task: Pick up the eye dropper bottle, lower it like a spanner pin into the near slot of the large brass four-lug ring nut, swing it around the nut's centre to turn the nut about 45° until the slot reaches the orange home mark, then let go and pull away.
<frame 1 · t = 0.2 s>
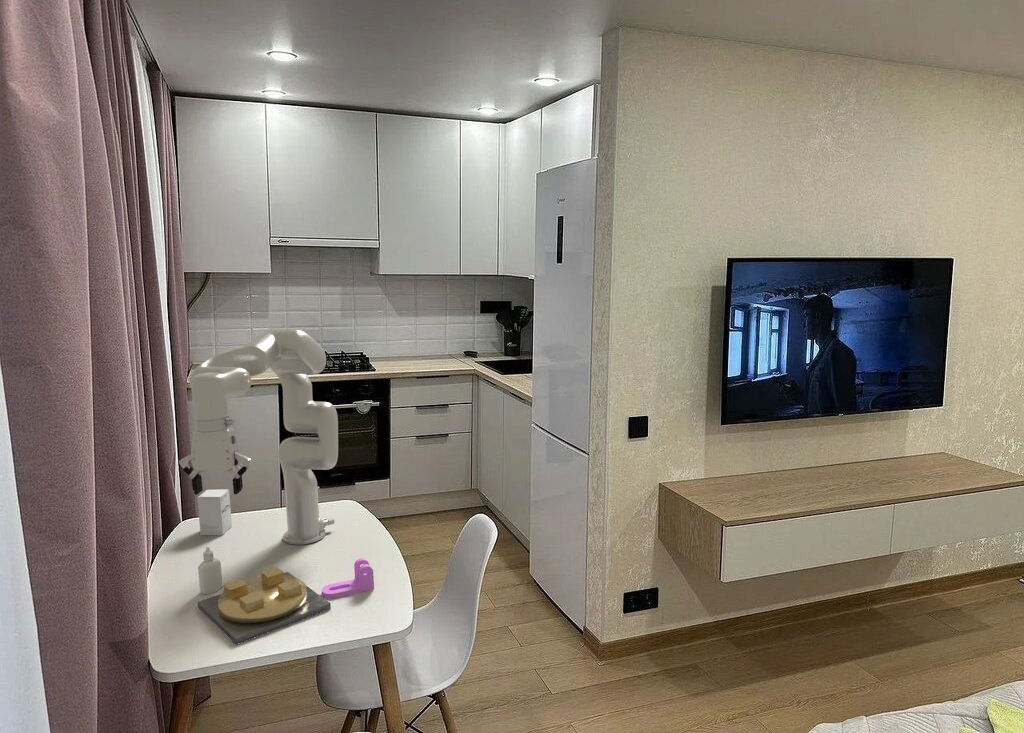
hand: (218, 492, 183), 30 cm above the table, tool pointing down, fingers open, 9 cm apart
eye dropper bottle: (211, 590, 199), on the table
dark grey square slab: (264, 607, 189), on the table
supplement box: (216, 531, 238), on the table
bracket: (347, 591, 197), on the table
ring nut: (262, 593, 188), point 4 cm above the table, hinge at 0.0°
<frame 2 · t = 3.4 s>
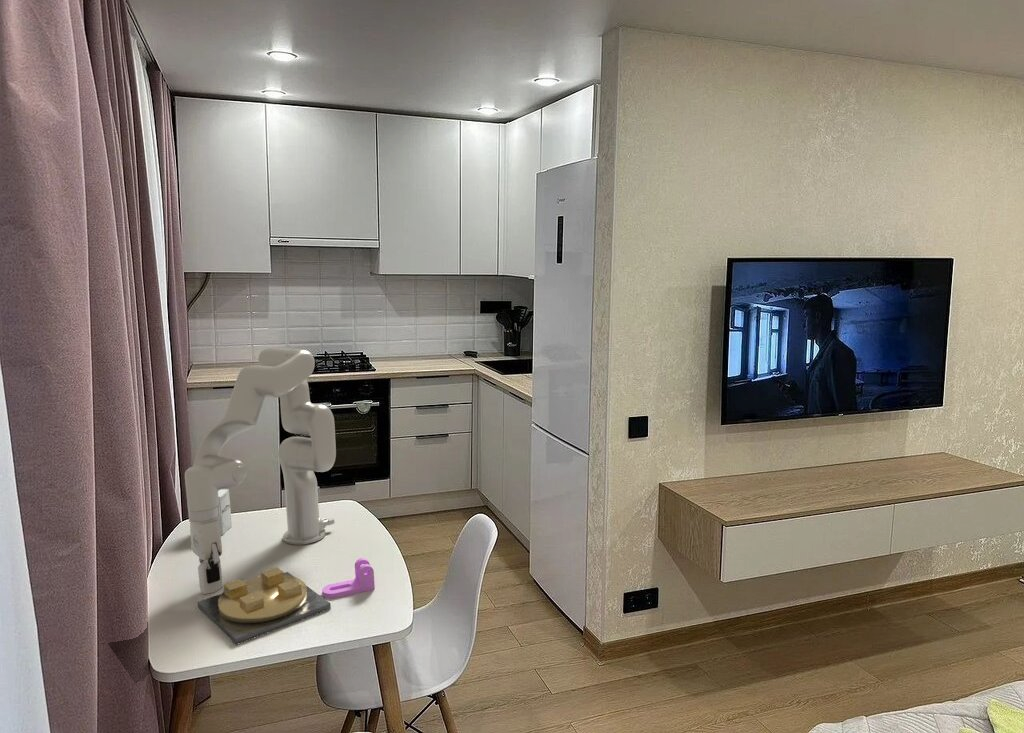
hand: (210, 578, 198), 3 cm above the table, tool pointing down, fingers closed on eye dropper bottle, 3 cm apart
eye dropper bottle: (211, 590, 199), on the table, touching gripper
everything else where it was.
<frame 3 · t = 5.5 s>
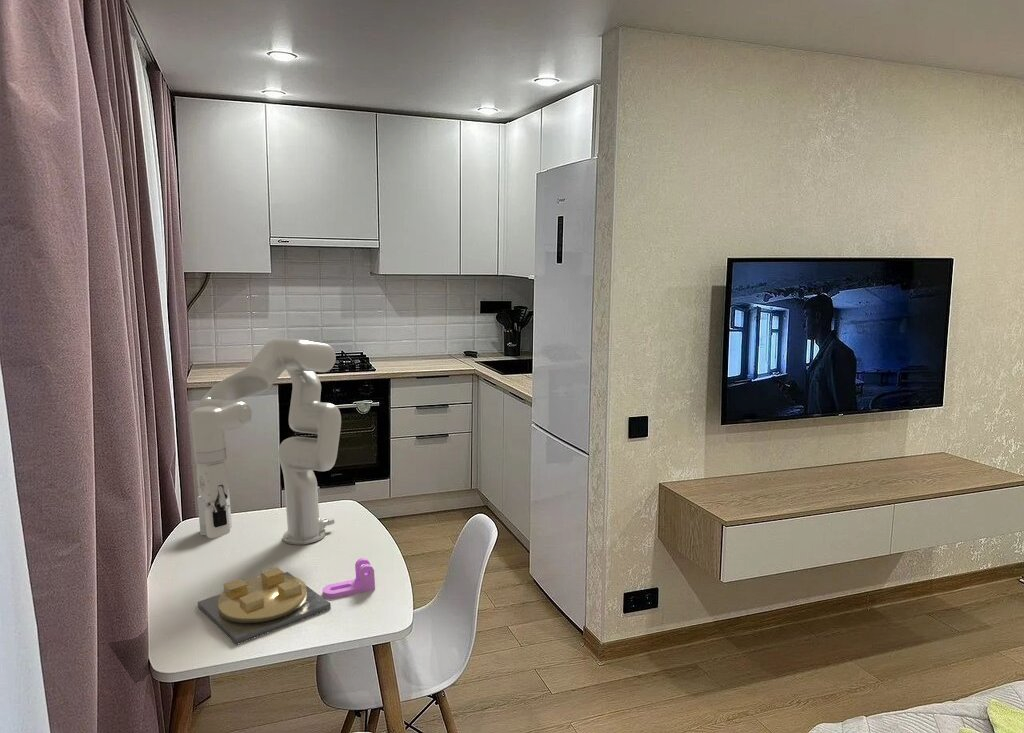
hand: (217, 522, 195), 19 cm above the table, tool pointing down, fingers closed on eye dropper bottle, 3 cm apart
eye dropper bottle: (218, 535, 195), point 15 cm above the table, touching gripper
everything else where it was.
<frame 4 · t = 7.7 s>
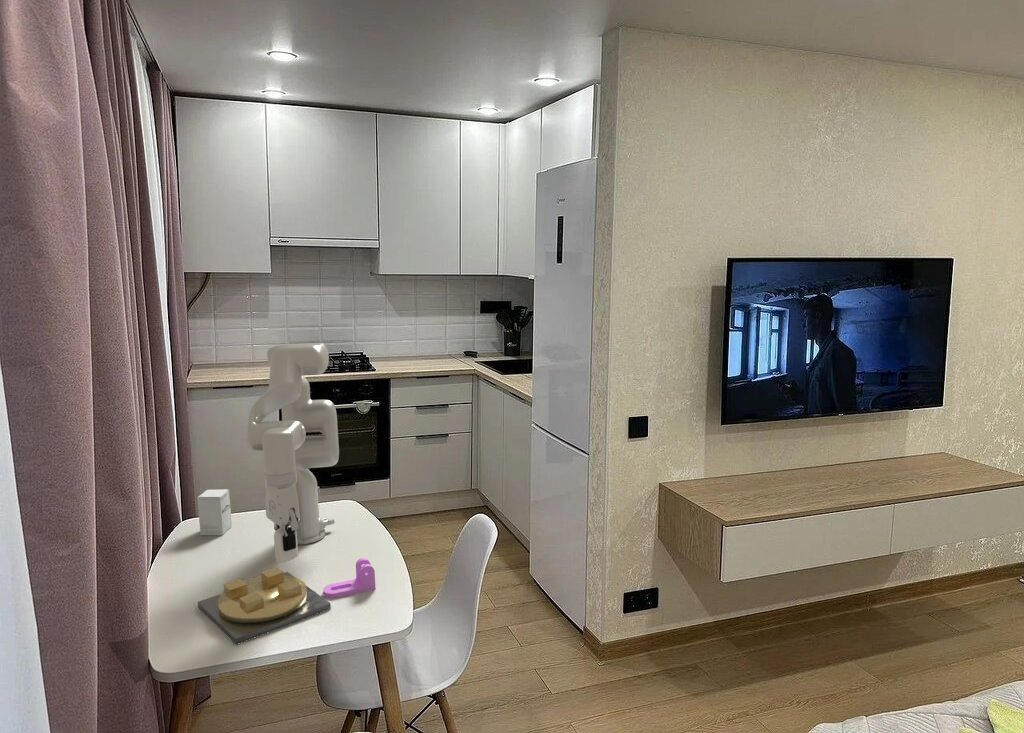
hand: (286, 546, 191), 14 cm above the table, tool pointing down, fingers closed on eye dropper bottle, 3 cm apart
eye dropper bottle: (287, 559, 191), point 11 cm above the table, touching gripper
everything else where it was.
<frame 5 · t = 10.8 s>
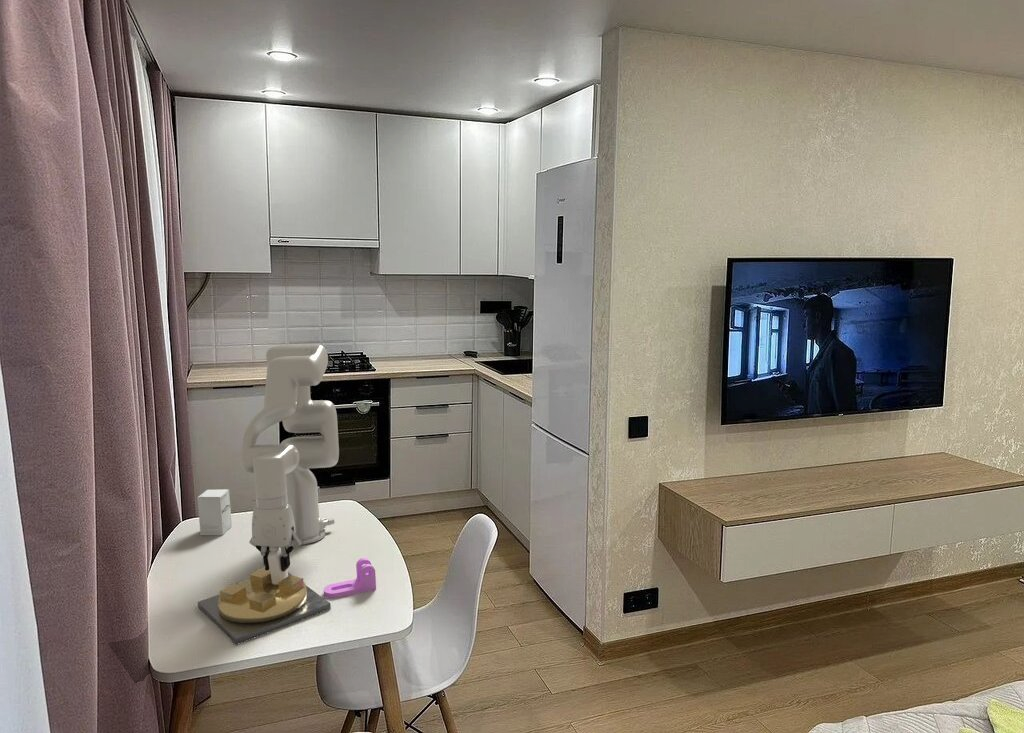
hand: (277, 568, 194), 7 cm above the table, tool pointing down, fingers closed on eye dropper bottle, 3 cm apart
eye dropper bottle: (280, 581, 195), point 4 cm above the table, touching gripper, ring nut
ring nut: (262, 593, 188), point 4 cm above the table, hinge at 21.4°, touching eye dropper bottle
everything else where it was.
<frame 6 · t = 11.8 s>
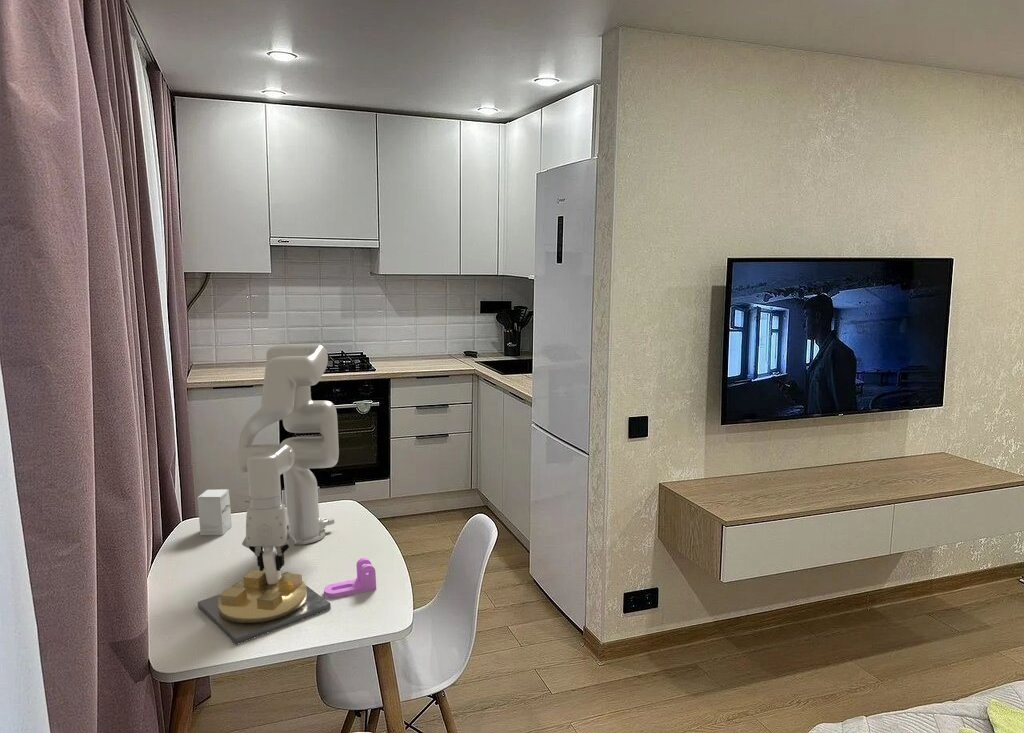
hand: (271, 567, 194), 7 cm above the table, tool pointing down, fingers closed on eye dropper bottle, 3 cm apart
eye dropper bottle: (274, 580, 195), point 4 cm above the table, touching gripper, ring nut
ring nut: (262, 593, 188), point 4 cm above the table, hinge at 35.3°, touching eye dropper bottle
everything else where it was.
when the fingers open (7 cm above the table, at t = 12.3 s): eye dropper bottle stays where it is, resting on ring nut.
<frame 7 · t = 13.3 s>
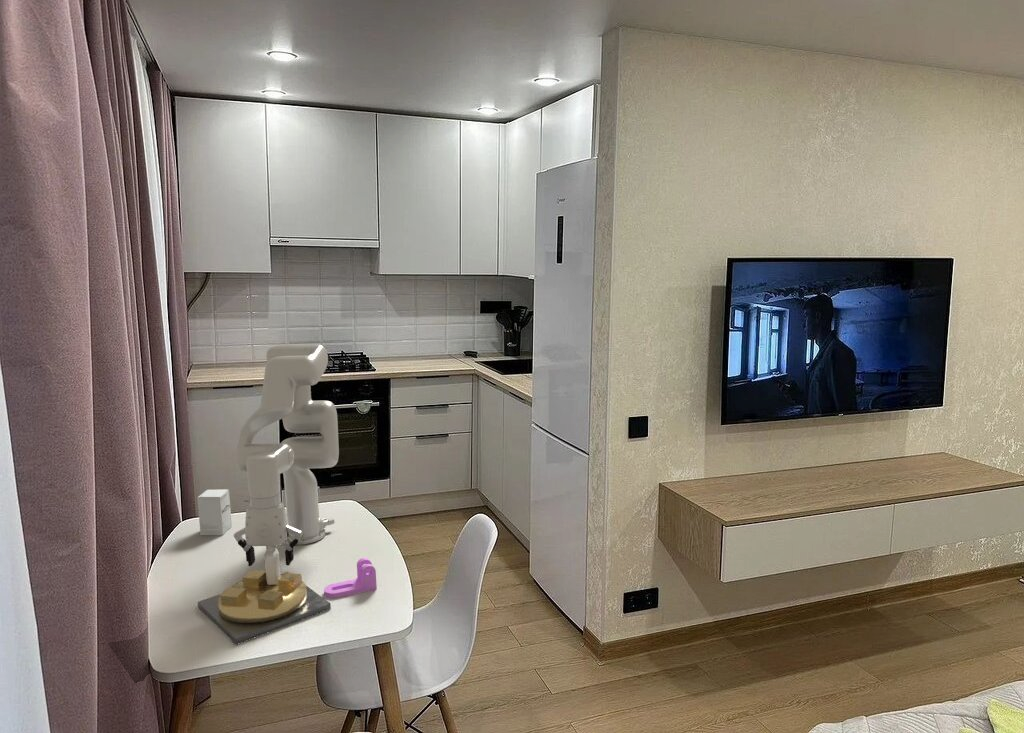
hand: (270, 563, 194), 9 cm above the table, tool pointing down, fingers open, 9 cm apart
eye dropper bottle: (273, 581, 195), point 4 cm above the table, touching ring nut
ring nut: (262, 593, 188), point 4 cm above the table, hinge at 36.9°, touching eye dropper bottle
everything else where it was.
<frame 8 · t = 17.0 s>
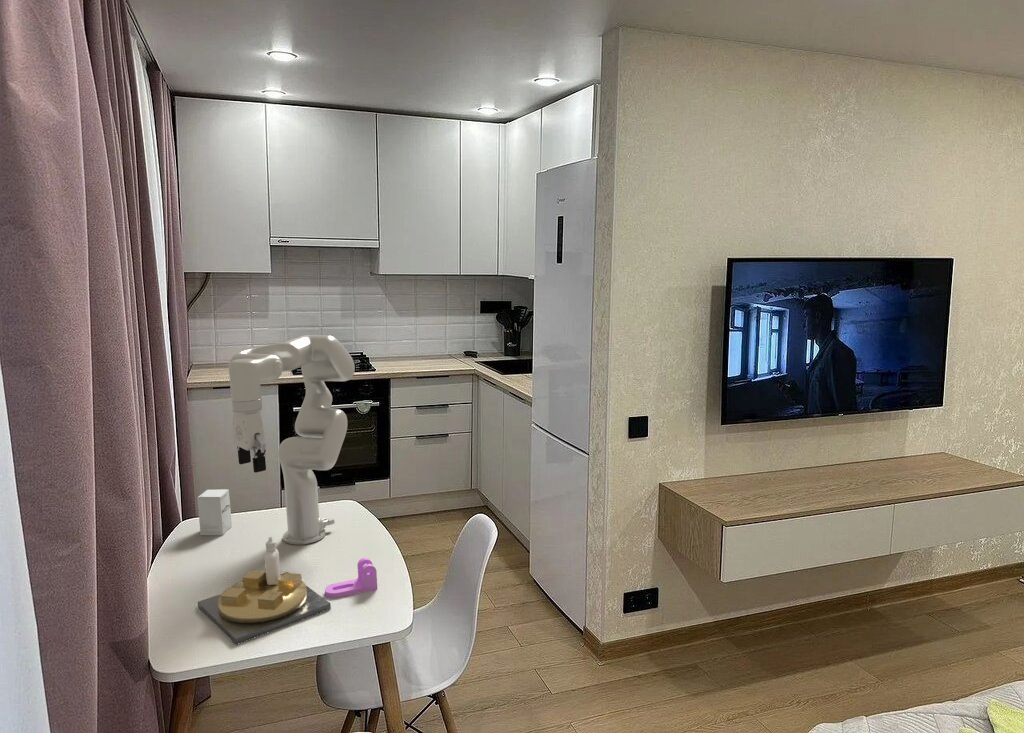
hand: (252, 467, 203), 30 cm above the table, tool pointing down, fingers open, 9 cm apart
nothing on the table moved.
at the end: ring nut at +37° (first picture: +0°); eye dropper bottle 7.2 cm from the ring nut (horizontally); eye dropper bottle tilted 0° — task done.
